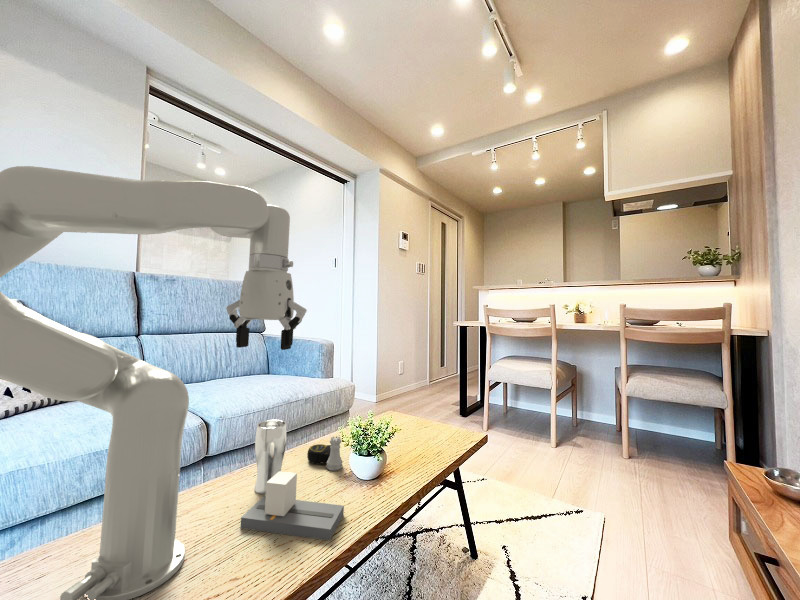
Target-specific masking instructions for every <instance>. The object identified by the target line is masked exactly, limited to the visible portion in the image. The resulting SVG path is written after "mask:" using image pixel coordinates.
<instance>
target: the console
mask: <svg viewBox="0 0 800 600" xmlns="http://www.w3.org/2000/svg"><path fill="white" fill-rule="evenodd" d="M265 499H266V495H263V496H262V497H261V498H259V500H258V501H257V502H255V504H254V505H253V506H252V507H250V509H248V510H247V511H246V512H245V513H244V514H243V515H242V516H241V517H240V529H241V530H242V529H243V530H250V531H257V532H258V531H259V532H264V533H265V532H266V533H272V534H280V535H285V536H294V537H301V538H309V539H316V540H324V541H331V540H332V537H333V536H334V534H335V532H336V530H337V529H338V527H339V525H340V523H341V521H342V519H343V517H344V513H345V512H344V511H345V506H344V505H341V504H334V503H333V504H332V503H324V502H317V501H308V500H301V499H300V500H299V499H296V503H295V504H294V505H293V506H292V507H291V509H290V510H289V511H288V512H287V513H286V514H285V516H277V515H269V514H265Z"/></svg>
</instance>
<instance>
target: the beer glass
mask: <svg viewBox="0 0 800 600" xmlns="http://www.w3.org/2000/svg"><path fill="white" fill-rule="evenodd" d="M254 441H255V443H254V453H255V461H256V470H257V475H256V481H255V486H254V491H255V493H257V494H259V495H266V482H267V481H269V480H270V479H271V478H272V477H273V476H274V475H275V474H276V473H278V472H279V471H282V466H283V461H284V457H285V453H286V446H287V422H286V421H285V420H282V419H269V420H264V421H261V422H258V423H257V425H256V432H255V440H254Z"/></svg>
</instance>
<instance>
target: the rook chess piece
mask: <svg viewBox="0 0 800 600" xmlns="http://www.w3.org/2000/svg"><path fill="white" fill-rule="evenodd" d="M341 443H342V440H341V437H340V436H338V435H337V436H332V437H330V440H329V445H331V446H330V448H331V452H330V457H329V458H328V461H327V463H326V465H325V468H326V469H327V470H328V471H331V472H336V471H339V470H341V469H342V468H343V463H344V462H343V460H342V457H341V453H340V450H341V445H340V444H341Z"/></svg>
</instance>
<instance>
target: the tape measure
mask: <svg viewBox="0 0 800 600" xmlns="http://www.w3.org/2000/svg"><path fill="white" fill-rule="evenodd" d="M330 446H331V444H323V443H322V444H320V443H318V444H313V445H311V446H310V447H308V449H307V454H306V457H307V460H308V462H309V463H312V464H327V461H328V458H329V457H330V452H331V448H330Z"/></svg>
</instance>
